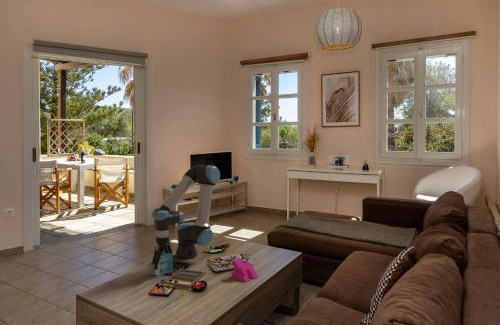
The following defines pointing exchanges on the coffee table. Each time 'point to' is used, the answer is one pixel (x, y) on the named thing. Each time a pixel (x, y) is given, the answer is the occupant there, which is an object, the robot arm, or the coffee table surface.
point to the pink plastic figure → (243, 270)
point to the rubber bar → (189, 274)
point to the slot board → (184, 279)
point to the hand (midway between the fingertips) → (162, 270)
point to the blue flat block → (164, 264)
